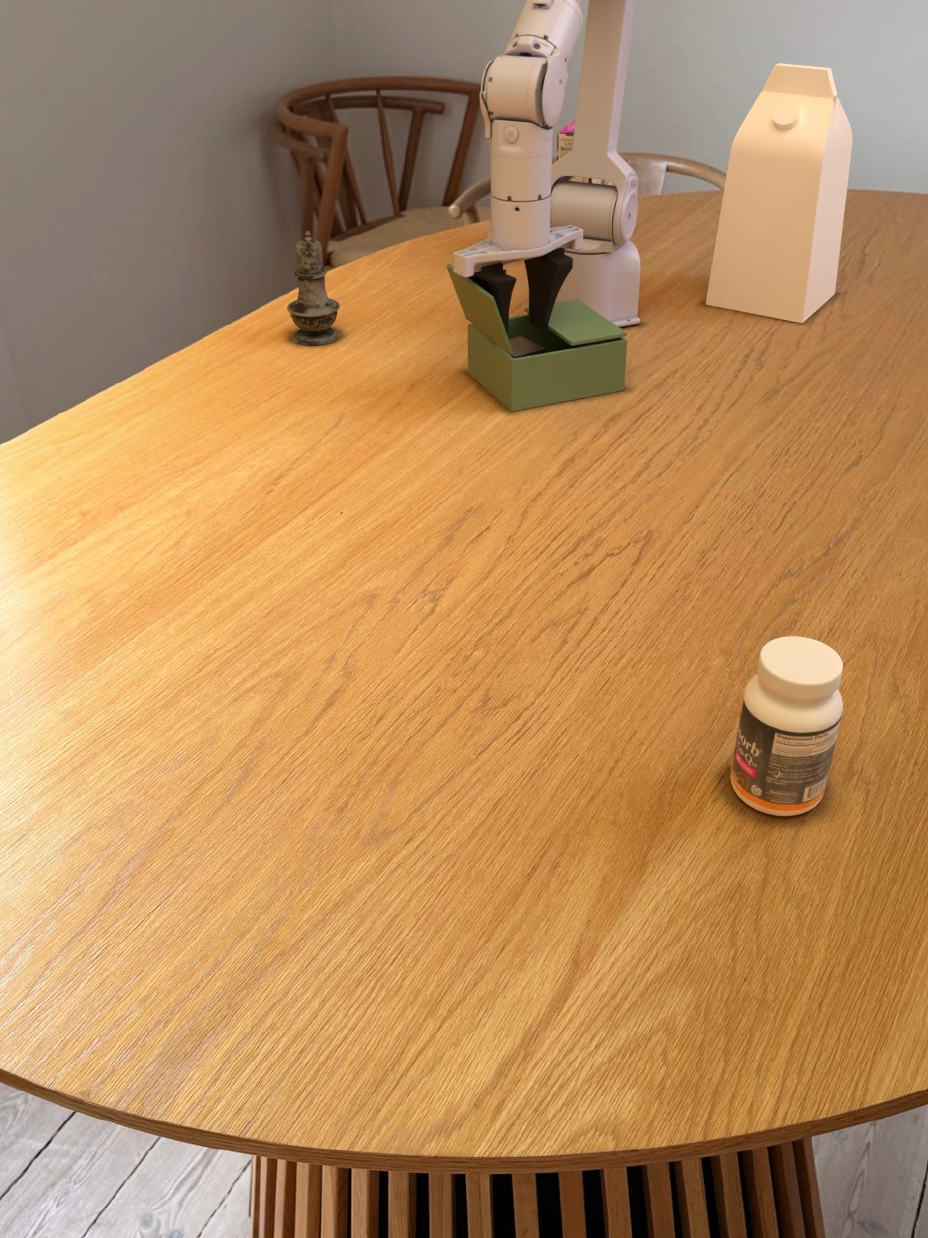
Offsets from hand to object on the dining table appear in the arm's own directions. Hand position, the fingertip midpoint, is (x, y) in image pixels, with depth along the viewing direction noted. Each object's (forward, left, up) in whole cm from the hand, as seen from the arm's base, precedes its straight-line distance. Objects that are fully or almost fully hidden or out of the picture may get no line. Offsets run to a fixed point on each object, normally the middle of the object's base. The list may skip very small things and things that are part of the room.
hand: (518, 331), depth 122 cm
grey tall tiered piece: (+15, -22, -6) cm, 27 cm away
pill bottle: (+12, +62, -6) cm, 63 cm away
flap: (+4, 0, +3) cm, 5 cm away
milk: (-39, -11, -6) cm, 41 cm away
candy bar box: (-27, -37, -6) cm, 46 cm away
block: (0, 0, -6) cm, 6 cm away
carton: (-3, 0, -6) cm, 7 cm away
